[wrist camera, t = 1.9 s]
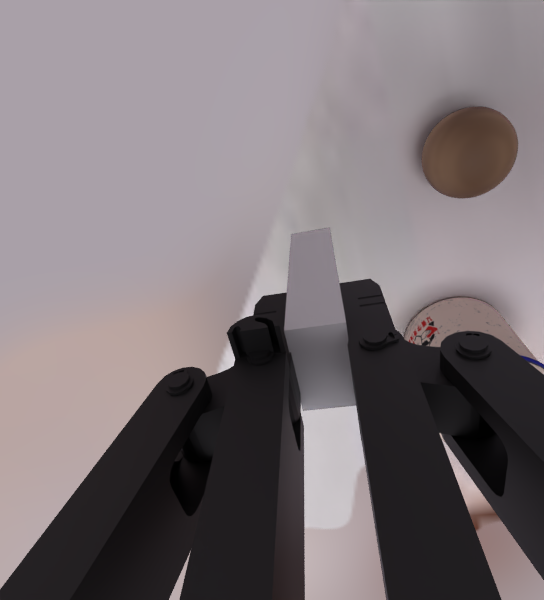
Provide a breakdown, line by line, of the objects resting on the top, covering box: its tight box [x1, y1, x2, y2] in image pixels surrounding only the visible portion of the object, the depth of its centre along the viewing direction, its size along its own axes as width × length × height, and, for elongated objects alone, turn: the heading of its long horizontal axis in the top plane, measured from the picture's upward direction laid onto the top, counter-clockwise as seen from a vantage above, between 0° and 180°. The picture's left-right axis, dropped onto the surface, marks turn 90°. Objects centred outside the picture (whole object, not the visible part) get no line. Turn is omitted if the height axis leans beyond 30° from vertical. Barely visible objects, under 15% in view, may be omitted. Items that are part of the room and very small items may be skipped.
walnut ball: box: [422, 107, 518, 198], centre depth 25 cm, size 6×6×6 cm
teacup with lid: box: [404, 297, 544, 442], centre depth 31 cm, size 12×9×12 cm
